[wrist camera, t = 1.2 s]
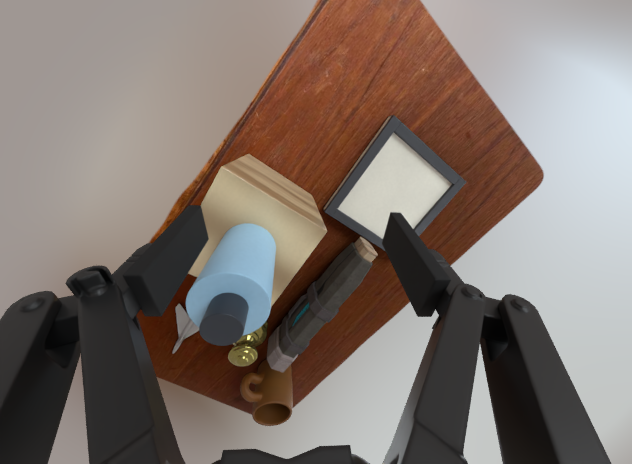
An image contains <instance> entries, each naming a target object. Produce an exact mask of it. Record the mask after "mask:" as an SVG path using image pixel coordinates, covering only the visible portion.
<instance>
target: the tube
mask: <svg viewBox="0 0 632 464" xmlns="http://www.w3.org/2000/svg"><path fill="white" fill-rule="evenodd" d="M377 255H378V254H377V253H376V251H375V250H374V248H373V247H372V245H371V244H370V243H369V242H368V241H367V240H365V239H364V238H362V237H360V238H359V239H358V240H357V241H356V242H355V243H354V242H353V243H351V244H350V245H349V246H348V247H347V248H346V249H345V250H344V251H343V252H341V253H340V254H339V255H338V256H337V257H336V259H335V260H334V261H333V262H332V263H331V265H330V266H329V267H328V268H327V270H326V271H325V272H324V273H323V274H322V276H321V277H320V278H319V279H318V281H317V280H316V281H315V282H313V283H312V284H311V285H310V287H309V288H308V289H307V293H306V295H303V296H301V297H300V299H299V300H298V301H297V302H296V303H295V305H294V306H293V307H292V308H291V310H290V311H289V314H287V315H286V316H285V317H284V319H283V320H282V324H281V325H280V326H278V327H277V329H276V330H275V331H274V332H273V333H272V335H271V336H270V337H269V339H268V350H267V361H268V363H269V365H270V367H271V369H274V370H277V371H280V372H282V373H283V372H284V371H285V370H286V369H287V368H288V367H289V366H290V365H291V363H292V362H293V361H294V360H295V359H296V357H297V356H298V354H299V355H300V354H301V353H302V352H303V351H304V350H305V349H306V348H307V346H308V345H309V341H310V340H311V338H312V337H313V336H314V335H315V334H316V333H317V332H318V331H319V329H320V328H321V327H322V326H323V325H324V324H325V323H326V322H330V321H331V320H332V319H333V317H334V316H335V315H336V314H337V313H338V312H339V310H338V308H339V307H340V306H341V305H342V304H343V303H344V301H345V300H346V299H347V298H348V297H349V296H350V295H351V294H352V292H353V291H354V290H355V289H356V288H357V287H358V286H359V284H360V283H361V282H362V280H363V279H364V277H365V276H366V274H367V272H368V271H369V269H370V268H371V266H372V261H373V259H374V258H375V257H376V256H377Z"/></svg>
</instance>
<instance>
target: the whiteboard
mask: <svg viewBox="0 0 632 464" xmlns="http://www.w3.org/2000/svg"><path fill="white" fill-rule="evenodd" d="M465 183H466V181H465V180H464V179H462V178H461V177H460V176H459V175H458V174H457V173H456V172H455V171H454V170H453V169H452V168H451V167H449V166H448V165H447V164H446V163H445V162H444V161H443V160H442V159H441V158H440V157H439V156H438V155H436V154H435V153H434V152H433V151H432V150H431V149H430V148H429V147H428V146H427V145H426V144H425V143H423V142H422V141H421V140H420V139H419V138H418V137H417V136H416V135H415V134H414V133H413V132H412V131H410V130H409V129H408V128H407V127H406V126H405V125H404V124H403V123H402V122H401V121H400V120H399V119H398V118H396V117H395V116H394V115H392V116H389V117H388V118H387V120H386V121H385V122H384V124H383V125H382V127H381V128H380V129H379V131H378V132H377V134H376V135H375V136H374V138H373V139H372V141H371V142H370V143H369V145H368V146H367V148H366V149H365V150H364V152H363V153H362V155H361V156H360V158H359V159H358V160H357V162H356V163H355V165H354V166H353V167H352V169H351V170H350V172H349V173H348V174H347V176H346V177H345V179H344V180H343V181H342V183H341V184H340V186H339V187H338V188H337V190H336V191H335V193H334V194H333V195H332V197H331V198H330V200H329V201H328V202H327V204H326V205H325V207H324V208H323V210H324V212H325V213H327V214H328V215H330V216H331V217H333V218H334V219H336V220H338V221H339V222H341V223H342V224H344V225H345V226H347V227H348V228H350V229H352V230H353V231H355V232H356V233H358V234H359V235H361V236H363V237H364V238H366V239H367V240H369V241H370V242H372V243H373V244H375V245H377V246H378V247H380V248H381V249H383V250H384V251H385V249H384V247H383V245H382V241H383V237H384V234H385V230H386V226H387V223H388V219H389V215H390V212H397V213H401V214H402V215H403V216H404V218H405V219H406V220H407V222H408V223H409V224H410V226H411V227H412V228H413V230H414V231H415V232H416V233H417V235H418V236H419V235H420V234H421V233H422V232H423V231H424V230H425V229H426V227H427V226H428V225H429V224H430V223H431V222H432V221H433V219H434V218H435V217H436V216H437V215H438V214H439V213H440V212H441V210H442V209H443V208H444V207H445V206H446V205H447V204H448V202H449V201H450V200H451V199H452V198H453V197H454V196H455V195H456V193H457V192H458V191H459V190H460V189H461V188H462V187H463V185H464V184H465Z"/></svg>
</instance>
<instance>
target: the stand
mask: <svg viewBox="0 0 632 464" xmlns="http://www.w3.org/2000/svg"><path fill="white" fill-rule="evenodd" d="M200 206H201V208H202V212H203V217H204V221H205V225H206V229H207V233H208V237H209V240H208V241H207V243H206V245H205V246H204V248H203V250H202V251H201V253H200V254H199V256H198V258H197V259H196V261H195V263H194V264H193V266H192V267H191V269H190V271H189V272H188V274H191V275H193V276H195V277H197V278H198V276H199V274H200V273H201V271H202V270H203V268H204V266H205V265H206V263H207V262H208V260H209V258H210V257H211V255H212V254H213V252H214V251H215V249H216V247H217V246H218V244H219V243H220V241H221V239H222V238H223V236H224V235H225V233H226V232H227V231H228V230H229V229H230V228H232V227H234V226H236V225H239V224H244V223H249V224H255V225H258V226H261V227H263V228H264V229H266V230H267V231H268V232H269V233H270V234H271V235H272V237H273V238H274V241H275V244H276V255H275V266H274V277H273V288H272V299H271V307H272V305H273V304H274V303H275V301H276V300H277V298H278V297H279V296H280V294H281V293H282V292H283V290H284V289H285V288H286V286H287V285H288V284H289V282H290V281H291V280H292V278H293V277H294V276H295V274H296V273H297V272H298V270H299V269H300V267H301V266H302V265H303V263H304V262H305V261H306V259H307V258H308V257H309V255H310V254H311V253H312V251H313V250H314V249H315V247H316V246H317V245H318V243H319V242H320V241H321V239H322V238H323V236H324V235H325V234H326V232H327V229H326V227H325V225H324V222H323V220H322V218H321V215H320V213H319V211H318V208H317V206H316V204H315V201H314V199H313V197H312V195H311V194H309V193H308V192H306V191H305V190H303V189H302V188H300V187H299V186H297V185H296V184H294V183H293V182H291V181H290V180H288V179H287V178H285V177H283V176H282V175H280V174H279V173H277V172H276V171H274V170H273V169H271V168H270V167H268V166H267V165H265V164H264V163H262V162H261V161H259V160H258V159H256V158H255V157H253V156H251V155H250V154H247V155H245V156H243V157H241V158H239V159H236V160H234V161H232V162H230V163H228V164H226V165H224V166H222V167H221V168H220V170H219V172H218V174H217V176H216V177H215V179H214V181H213V183H212V185H211V187H210V189H209V190H208V192H207V194H206V196H205V198H204V200H203V202H202V204H201V205H200Z"/></svg>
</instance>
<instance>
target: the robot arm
mask: <svg viewBox="0 0 632 464" xmlns="http://www.w3.org/2000/svg"><path fill="white" fill-rule="evenodd" d="M208 240H209V237H208V233H207V229H206V225H205V221H204V217H203V212H202V208H201V206H197V205H189V206H188V207H187V208H186V209H185V210H184V211H183V212H182V213H181V214H180V215H179V216H178V217H177V218H176V219H175V221H174V222H173V223H172V224H171V225H170V226H169V227H168V228H167V229H166V230H165V231H164V232H163V233H162V234H161V235H160V236H159V237H158V238H157V239H156V240H155V242H154V243H153V244H151V243H148V244H146V245H144V246H142V247H141V248H139V249H137V250H136V251H135V252H134V253H133V254H132V256H131V257H129V259H127V260H126V262H124V263H123V264H122V265H121V266H120V267H119V268H118V269H117V270H116V271H115V272H114V273H113V274H112V275H111V273H110V271H109V270H108V268H107V267H105V266H92V267H88V268H85V269H83V270H80V271H78V272H76V273H75V274H73V275H72V276H71V277H69V278H68V280H67V282H66V285H67V286H68V288H69V289H70V290H71V291H72V293H73V294H74V295H73V296H68V297H63V298H57V296H56V295H55V294H54V293H53V292H50V291H43V292H37V293H34V294H31V295H28V296H26V297H23V298H21V299H20V300H18V301H17V302H15V303H14V304H12V305H11V306H10V307H9V308H8V309H7V311H6V312H5V314H4V315H3V317H2V318H1V320H0V464H48V460H49V457H50V453H51V450H52V446H53V444H54V440H55V437H56V434H57V430H58V427H59V424H60V420H61V417H62V413H63V410H64V407H65V403H66V400H67V397H68V393H69V390H70V387H71V383H72V380H73V376H74V373H75V370H76V367H77V363H78V360H79V357H80V353H81V361H82V375H83V386H84V400H85V412H86V426H87V439H88V451H89V463H90V464H185V462H184V460H183V458H182V456H181V453H180V450H179V447H178V444H177V441H176V438H175V435H174V431H173V429H172V425H171V422H170V419H169V416H168V412H167V410H166V406H165V403H164V400H163V397H162V394H161V390H160V387H159V384H158V381H157V378H156V374H155V371H154V368H153V365H152V362H151V359H150V355H149V352H148V349H147V346H146V343H145V339H144V336H143V333H142V330H141V327H140V324H139V320H138V318H137V317H136V314H137V313H138V312H139V310H140V309H141V310H142V311H143V313H144V315H145V316H162V315H163V313H164V311H165V310H166V308H167V306H168V305H169V303H170V302H171V300H172V298H173V297H174V295H175V293H176V292H177V290H178V289H179V287H180V285H181V284H182V282H183V280H184V279H185V277H186V276H187V274H188V272H189V271H190V269H191V267H192V266H193V264H194V263H195V261H196V259H197V258H198V256H199V254H200V253H201V251H202V250H203V248H204V246H205V245H206V243H207V241H208ZM382 245H383V247H384V249H385V251H386V253H387V255H388V257H389V259H390V261H391V263H392V265H393V267H394V269H395V271H396V273H397V275H398V277H399V280H400V282H401V284H402V286H403V288H404V290H405V292H406V294H407V296H408V298H409V300H410V302H411V304H412V306H413V308H414V310H415V312H416V314H417V316H418V317H431V316H432V314H433V313H434V311H435V309H436V311H437V313H438V314H439V317H438V318H437V320H436V322H435V324H434V325H433V327H432V329H433V331H432V334H431V337H430V340H429V342H428V345H427V348H426V351H425V353H424V356H423V359H422V362H421V364H420V367H419V370H418V373H417V375H416V378H415V381H414V383H413V386H412V389H411V392H410V395H409V397H408V400H407V403H406V406H405V408H404V411H403V414H402V416H401V419H400V422H399V425H398V427H397V430H396V433H395V436H394V438H393V441H392V444H391V446H390V448H389V450H388V452H387V454H386V456H385V459H384V461H383V464H468V463H467V461H466V459H465V458H464V455H463V448H464V442H465V435H466V428H467V422H468V415H469V409H470V402H471V395H472V389H473V383H474V376H475V370H476V363H477V356H478V350H479V344H481V350H482V355H483V361H484V365H485V371H486V377H487V382H488V387H489V392H490V397H491V403H492V408H493V413H494V418H495V424H496V429H497V435H498V440H499V445H500V450H501V456H502V461H503V464H611V462H610V460H609V458H608V456H607V454H606V452H605V450H604V447H603V445H602V443H601V442H600V439H599V437H598V435H597V433H596V431H595V429H594V427H593V425H592V423H591V421H590V418H589V416H588V414H587V412H586V410H585V408H584V406H583V404H582V402H581V400H580V398H579V396H578V394H577V392H576V389H575V387H574V385H573V383H572V381H571V379H570V377H569V375H568V373H567V371H566V369H565V367H564V365H563V362H562V361H561V359H560V356H559V354H558V352H557V350H556V348H555V346H554V344H553V342H552V340H551V338H550V336H549V334H548V331H547V329H546V327H545V325H544V323H543V321H542V319H541V317H540V315H539V313H538V311H537V310H536V308H535V307H534V306H533V305H532V304H531V303H530V302H528V301H527V300H525V299H524V298H521V297H519V296H516V295H511V294H509V295H505V296H504V297H503V298H502V300H496V299H492V298H488V297H485V295H484V294H483V293H482V292H481V291H480V290H479V289H477V288H476V287H474V286H472V285H469V284H464V282H463V281H462V280H461V279H460V277H459V276H458V275H457V274H456V273H455V271H454V270H453V269H452V267H450V265H449V264H448V263H447V262H446V260H445V259H444V258H443V256H442V255H441V254H439V253H438V252H437V251H435V250H434V249H428V248H427V247H426V245H425V244H424V243H423V241H422V240H421V239H420V237H419V236H418V235H417V233H416V232H415V231H414V230H413V228H412V227H411V226H410V224H409V223H408V222H407V220H406V219H405V218H404V216H403V215H402V214H401V213H397V212H390V215H389V219H388V223H387V226H386V230H385V234H384V237H383V241H382ZM212 464H370V463H368V462H367V461H366V460H364V459H362V458H360V457H359V456H357V455H354V454H351V449H350V445H341V446H319V447H317V448H315V449H312V450H310V451H307V452H305V453H302V454H300V455H298V456H295V457H293V458H290V459H284V458H281V457H278V456H275V455H271V454H269V453H266V452H263V451H260V450H257V449H241V450H223V453H222V458H221V460H218V461H216V462H214V463H212Z"/></svg>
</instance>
